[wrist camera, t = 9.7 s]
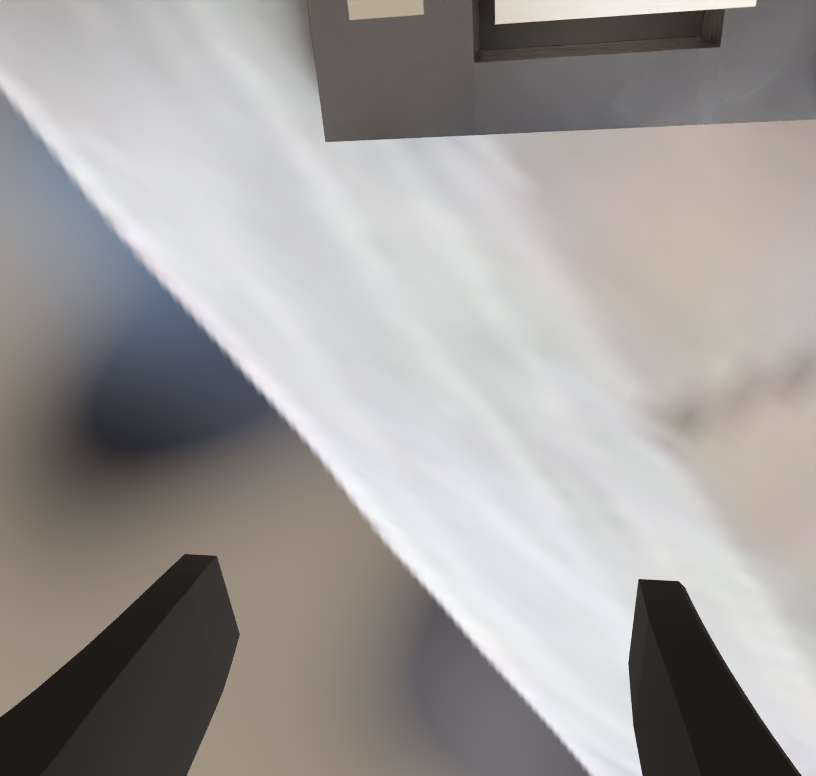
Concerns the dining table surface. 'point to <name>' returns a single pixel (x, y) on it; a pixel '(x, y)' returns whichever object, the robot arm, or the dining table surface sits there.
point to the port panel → (552, 73)
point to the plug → (600, 8)
